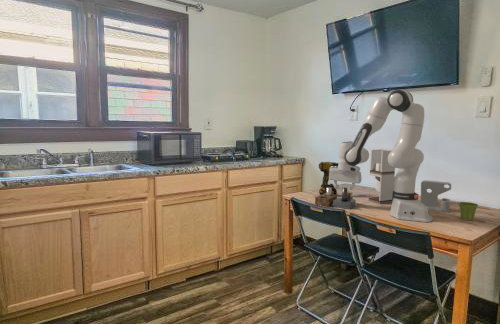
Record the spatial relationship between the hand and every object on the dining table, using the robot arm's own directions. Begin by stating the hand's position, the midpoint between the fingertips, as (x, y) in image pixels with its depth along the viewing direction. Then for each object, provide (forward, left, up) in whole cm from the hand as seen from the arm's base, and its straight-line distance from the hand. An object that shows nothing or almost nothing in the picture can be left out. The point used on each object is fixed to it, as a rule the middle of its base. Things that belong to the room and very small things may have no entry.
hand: (344, 188), depth 216 cm
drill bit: (0, 0, -12) cm, 12 cm away
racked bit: (+12, -4, -12) cm, 17 cm away
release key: (0, -8, -11) cm, 14 cm away
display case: (-16, -27, -12) cm, 34 cm away
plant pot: (-66, -12, -12) cm, 69 cm away
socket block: (0, -2, -12) cm, 12 cm away
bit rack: (+12, 0, -12) cm, 16 cm away
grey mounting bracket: (-48, -27, -12) cm, 57 cm away
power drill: (+19, -26, -12) cm, 34 cm away
